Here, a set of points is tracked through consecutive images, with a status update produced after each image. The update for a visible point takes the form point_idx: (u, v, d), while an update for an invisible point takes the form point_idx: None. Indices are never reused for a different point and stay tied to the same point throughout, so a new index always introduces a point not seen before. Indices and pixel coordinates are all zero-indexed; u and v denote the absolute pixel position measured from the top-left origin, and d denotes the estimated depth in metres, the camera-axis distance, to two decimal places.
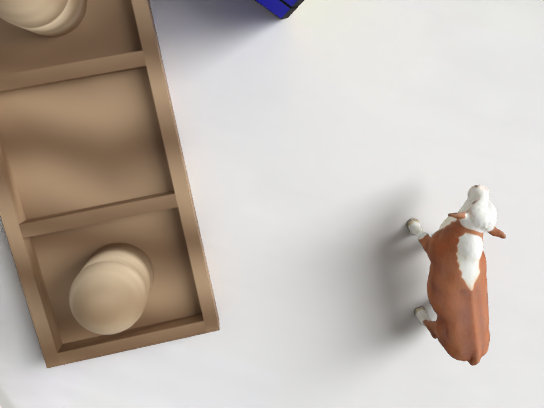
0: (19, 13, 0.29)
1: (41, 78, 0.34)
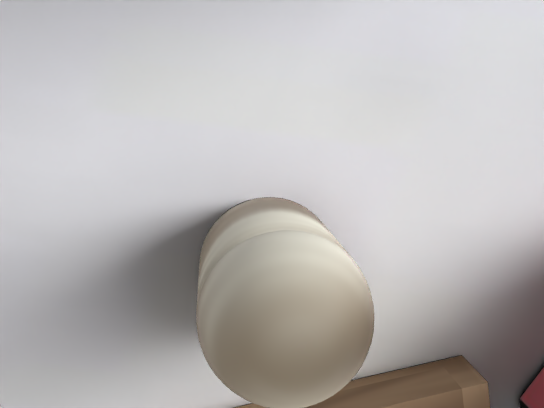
0: None
1: None
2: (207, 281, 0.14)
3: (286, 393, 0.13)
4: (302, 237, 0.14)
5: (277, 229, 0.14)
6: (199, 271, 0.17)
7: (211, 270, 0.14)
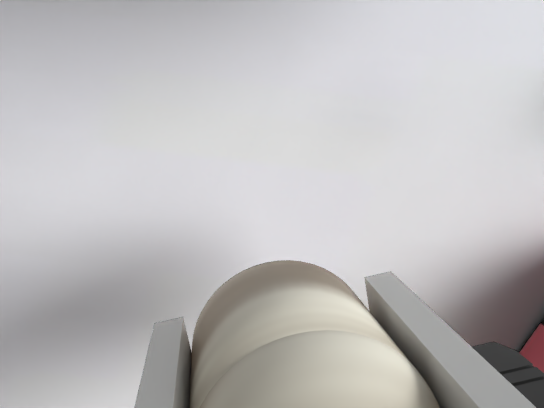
0: None
1: None
2: None
3: None
4: (345, 345, 0.09)
5: (306, 330, 0.10)
6: (191, 372, 0.12)
7: (209, 393, 0.09)
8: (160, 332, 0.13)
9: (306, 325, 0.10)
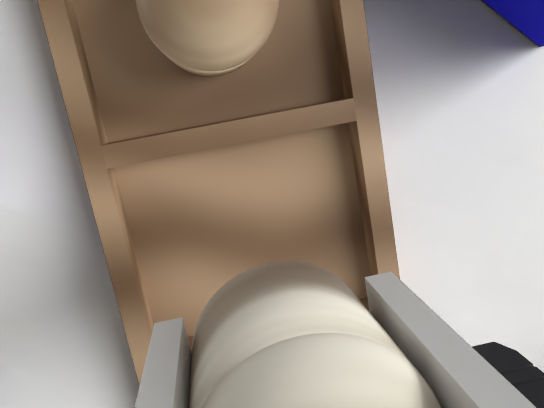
0: (210, 51, 0.17)
1: (200, 142, 0.22)
2: None
3: None
4: (346, 347, 0.09)
5: (307, 332, 0.09)
6: (191, 375, 0.12)
7: (209, 396, 0.09)
8: (160, 332, 0.13)
9: (307, 327, 0.10)
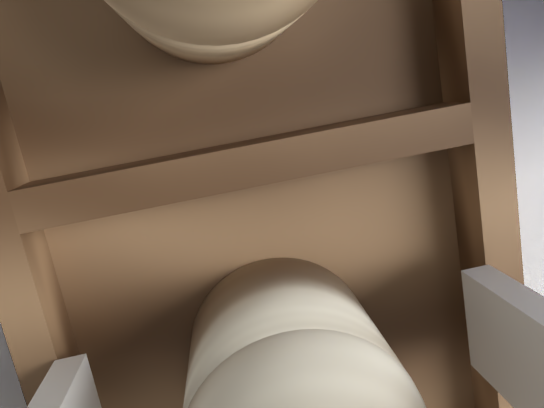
0: None
1: (193, 184, 0.12)
2: (193, 407, 0.10)
3: None
4: (330, 343, 0.09)
5: (293, 328, 0.10)
6: None
7: (199, 388, 0.10)
8: (55, 373, 0.12)
9: (294, 323, 0.10)
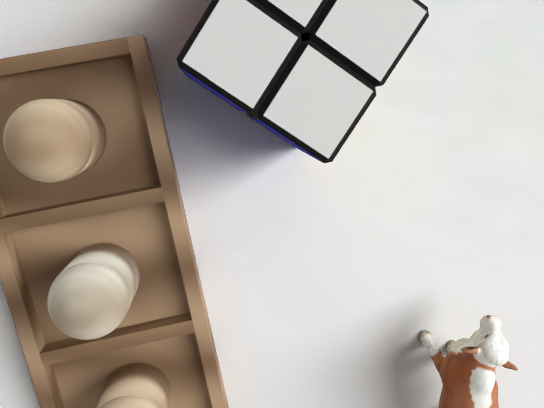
0: (44, 176, 0.30)
1: (62, 216, 0.35)
2: (50, 288, 0.32)
3: (79, 330, 0.31)
4: (86, 265, 0.32)
5: (79, 263, 0.33)
6: None
7: (52, 283, 0.33)
8: None
9: (80, 262, 0.33)
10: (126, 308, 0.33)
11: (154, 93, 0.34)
